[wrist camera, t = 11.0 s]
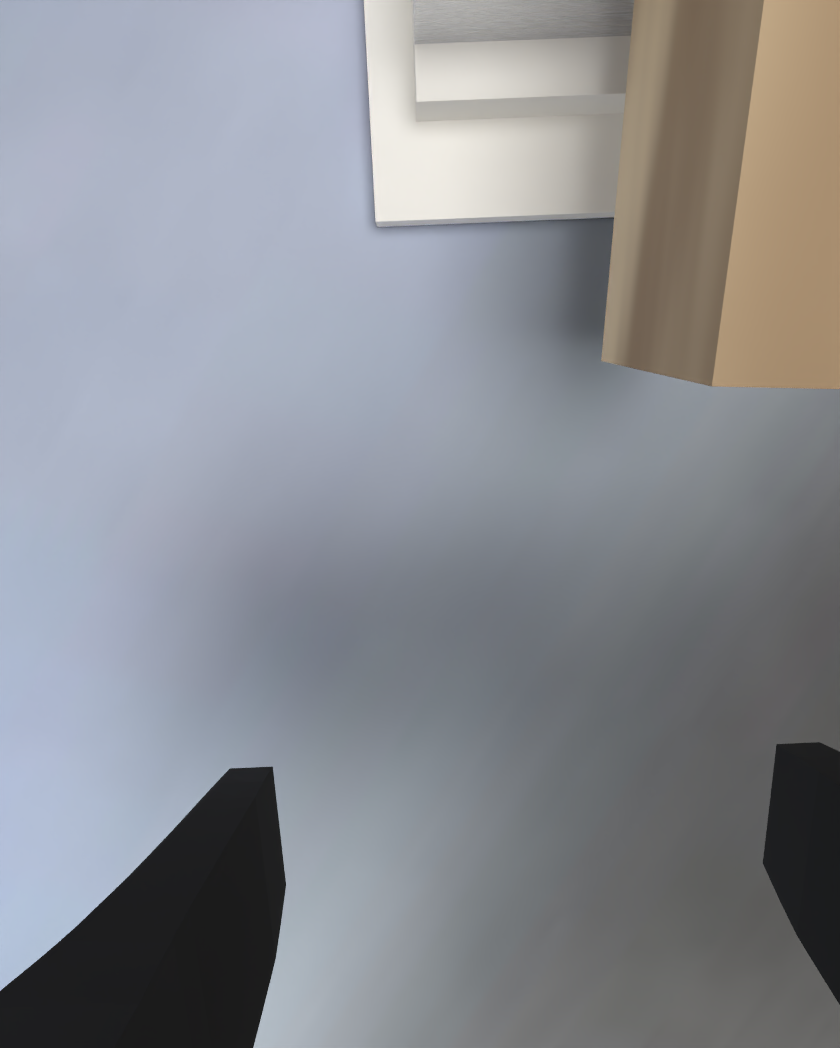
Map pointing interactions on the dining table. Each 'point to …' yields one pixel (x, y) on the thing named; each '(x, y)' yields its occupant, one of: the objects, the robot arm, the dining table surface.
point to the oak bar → (729, 195)
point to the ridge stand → (496, 108)
